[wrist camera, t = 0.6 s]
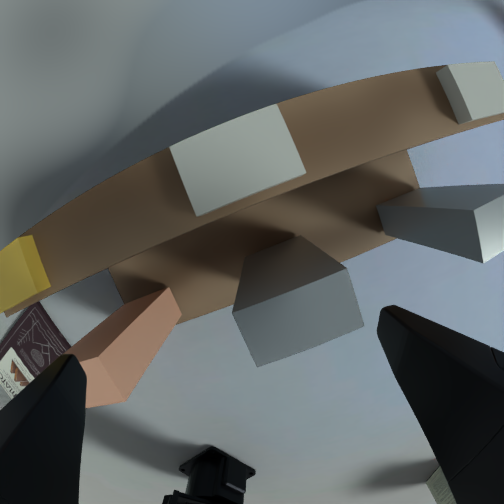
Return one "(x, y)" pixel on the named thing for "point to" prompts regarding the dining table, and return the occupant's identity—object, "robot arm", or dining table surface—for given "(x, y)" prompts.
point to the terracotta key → (125, 346)
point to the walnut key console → (252, 190)
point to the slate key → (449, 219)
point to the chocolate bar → (29, 349)
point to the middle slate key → (293, 300)
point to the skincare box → (440, 488)
